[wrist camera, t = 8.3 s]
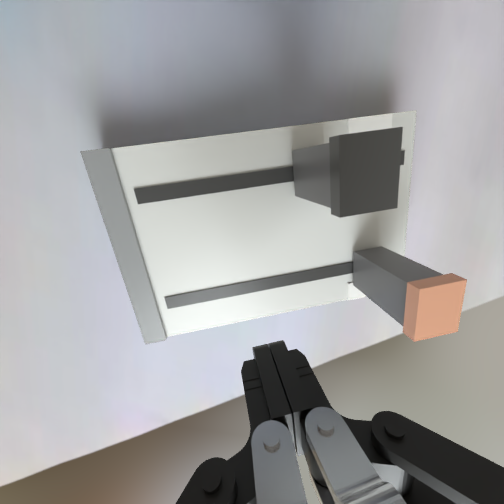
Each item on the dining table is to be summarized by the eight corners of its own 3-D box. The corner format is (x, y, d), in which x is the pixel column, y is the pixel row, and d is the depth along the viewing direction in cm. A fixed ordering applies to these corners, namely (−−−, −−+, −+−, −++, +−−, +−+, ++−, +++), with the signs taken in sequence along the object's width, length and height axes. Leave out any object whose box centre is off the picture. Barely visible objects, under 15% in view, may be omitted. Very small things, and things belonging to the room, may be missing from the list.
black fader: (288, 147, 17) (338, 134, 10) (328, 142, 17) (402, 126, 10) (292, 199, 18) (340, 217, 11) (330, 193, 18) (397, 207, 12)
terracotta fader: (351, 249, 20) (419, 289, 13) (383, 243, 20) (466, 279, 14) (350, 287, 21) (414, 341, 14) (381, 281, 21) (457, 331, 15)
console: (103, 154, 18) (80, 151, 15) (387, 118, 20) (421, 109, 17) (154, 319, 23) (145, 344, 19) (380, 274, 25) (405, 290, 22)
